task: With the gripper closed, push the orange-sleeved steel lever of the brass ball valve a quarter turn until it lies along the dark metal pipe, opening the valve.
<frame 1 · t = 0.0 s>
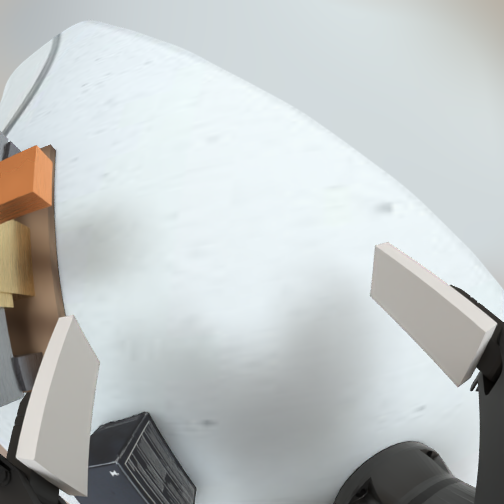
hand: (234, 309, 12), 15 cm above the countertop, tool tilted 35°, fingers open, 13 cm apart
base board: (16, 270, 24), on the countertop
small box: (146, 459, 23), on the countertop
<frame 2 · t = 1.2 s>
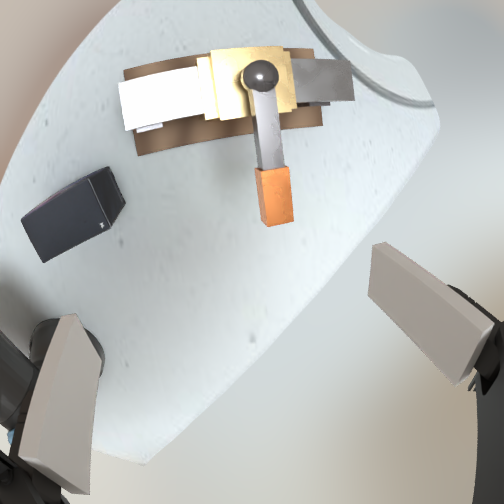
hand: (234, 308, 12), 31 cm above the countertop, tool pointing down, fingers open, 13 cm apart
valve lever: (268, 142, 25), point 15 cm above the countertop, hinge at 0.0°
base board: (226, 93, 35), on the countertop
small box: (86, 199, 36), on the countertop
valve: (240, 86, 29), on the base board, point 8 cm above the countertop
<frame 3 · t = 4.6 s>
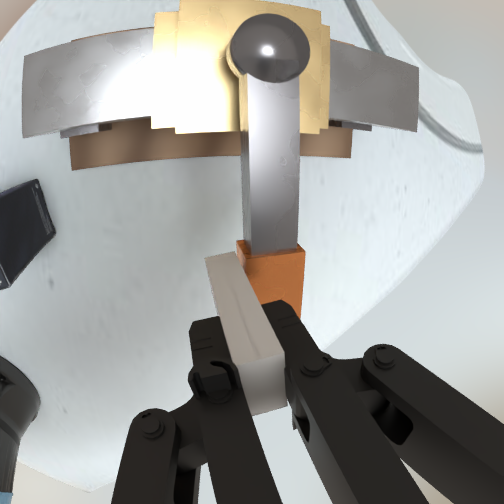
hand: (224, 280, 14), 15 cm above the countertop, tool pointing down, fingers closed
valve lever: (269, 194, 12), point 15 cm above the countertop, hinge at 2.4°, touching gripper
base board: (216, 89, 23), on the countertop
small box: (11, 219, 22), on the countertop
valve: (232, 76, 16), on the base board, point 8 cm above the countertop
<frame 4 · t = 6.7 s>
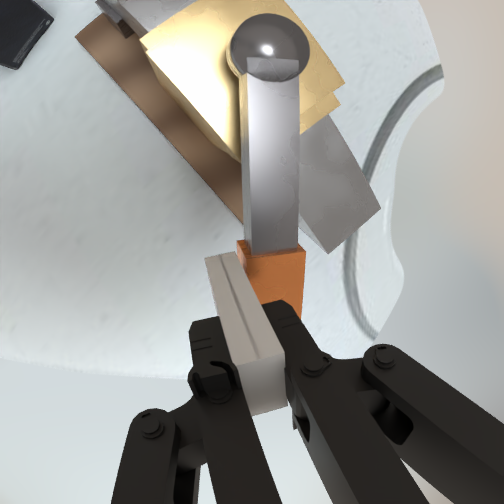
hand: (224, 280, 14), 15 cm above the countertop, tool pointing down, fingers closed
valve lever: (269, 194, 12), point 15 cm above the countertop, hinge at 53.8°, touching gripper
base board: (216, 90, 23), on the countertop
small box: (11, 26, 14), on the countertop
valve: (232, 77, 16), on the base board, point 8 cm above the countertop
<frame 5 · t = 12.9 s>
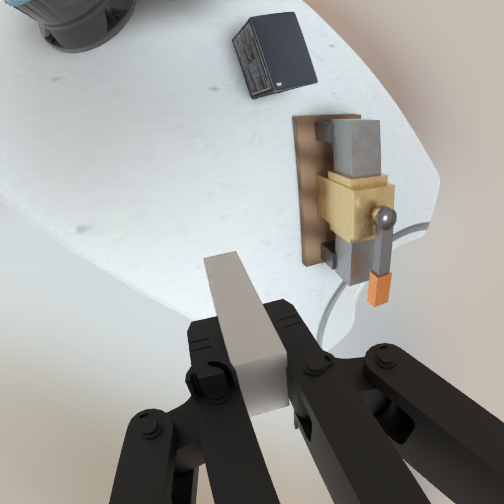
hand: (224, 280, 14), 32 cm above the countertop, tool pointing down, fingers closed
valve lever: (382, 258, 39), point 15 cm above the countertop, hinge at 91.1°
base board: (330, 189, 49), on the countertop
small box: (260, 64, 38), on the countertop
valve: (354, 201, 42), on the base board, point 8 cm above the countertop
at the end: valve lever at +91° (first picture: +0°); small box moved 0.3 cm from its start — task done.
